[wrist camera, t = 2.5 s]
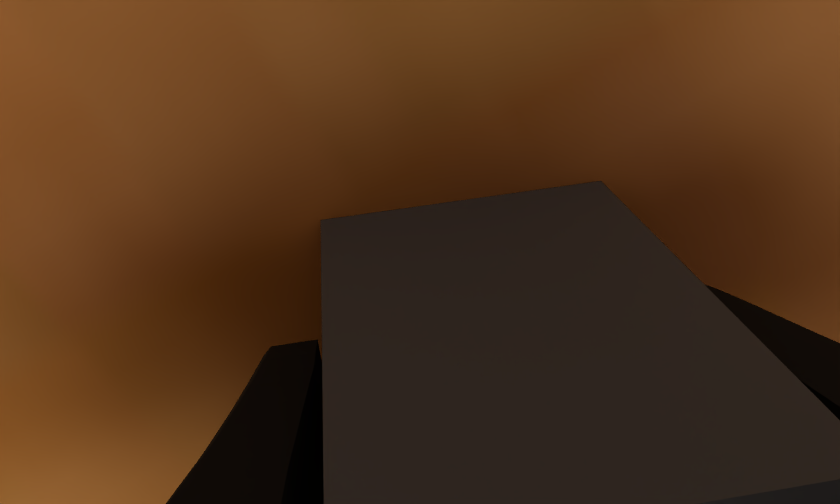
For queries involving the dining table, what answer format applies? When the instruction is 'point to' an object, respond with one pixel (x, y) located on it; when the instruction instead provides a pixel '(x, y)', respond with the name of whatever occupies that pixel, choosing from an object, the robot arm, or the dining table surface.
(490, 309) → the dark grey block
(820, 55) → the dining table surface
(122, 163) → the dining table surface
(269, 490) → the robot arm
